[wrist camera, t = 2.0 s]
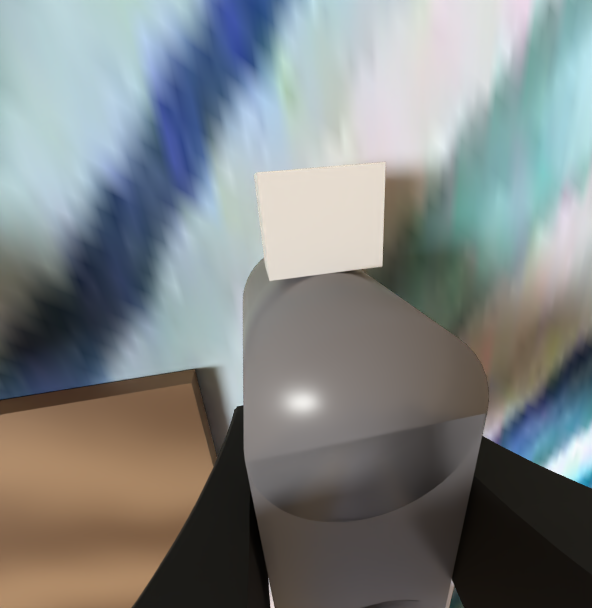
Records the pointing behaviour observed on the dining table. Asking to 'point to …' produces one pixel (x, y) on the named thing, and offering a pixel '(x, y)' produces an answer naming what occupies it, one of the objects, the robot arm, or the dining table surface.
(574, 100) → the dining table surface
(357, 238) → the grey rounded piece
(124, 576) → the walnut board
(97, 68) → the dining table surface
